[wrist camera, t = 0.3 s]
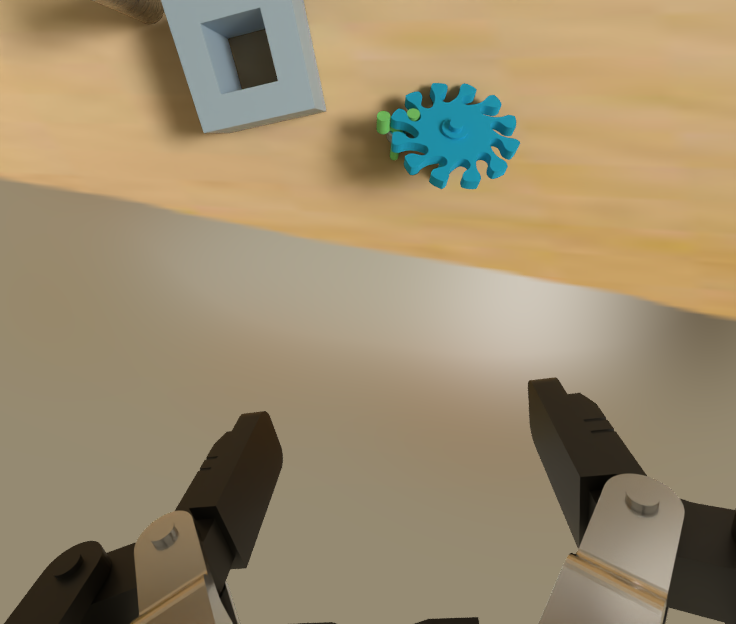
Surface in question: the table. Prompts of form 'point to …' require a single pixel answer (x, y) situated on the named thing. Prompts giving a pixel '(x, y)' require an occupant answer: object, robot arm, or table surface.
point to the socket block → (217, 67)
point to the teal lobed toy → (450, 135)
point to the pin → (137, 9)
